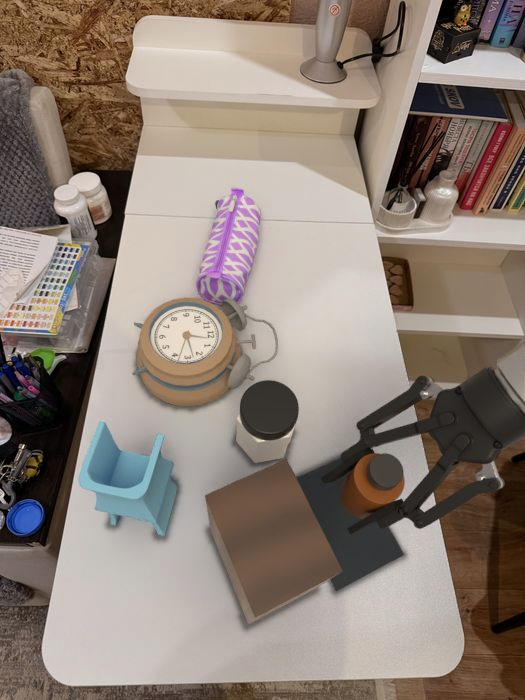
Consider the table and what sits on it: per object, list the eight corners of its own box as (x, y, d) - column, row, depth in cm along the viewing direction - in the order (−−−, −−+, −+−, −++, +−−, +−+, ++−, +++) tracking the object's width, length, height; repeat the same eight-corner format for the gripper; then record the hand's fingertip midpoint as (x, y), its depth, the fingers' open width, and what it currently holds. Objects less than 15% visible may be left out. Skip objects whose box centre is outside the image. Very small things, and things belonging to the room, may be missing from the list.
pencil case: (216, 217, 103) (215, 180, 94) (262, 223, 102) (264, 187, 94) (195, 307, 92) (192, 274, 83) (246, 314, 91) (248, 282, 83)
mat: (403, 555, 72) (404, 554, 72) (336, 591, 70) (336, 591, 69) (347, 455, 79) (347, 454, 79) (284, 484, 76) (284, 483, 76)
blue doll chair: (179, 481, 76) (165, 433, 59) (164, 536, 72) (144, 502, 55) (128, 470, 76) (98, 420, 59) (110, 524, 72) (73, 487, 55)
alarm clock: (130, 289, 81) (273, 282, 84) (139, 320, 89) (269, 314, 92) (126, 385, 73) (286, 375, 75) (136, 410, 81) (280, 401, 83)
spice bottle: (394, 507, 62) (423, 483, 53) (354, 527, 61) (378, 505, 52) (370, 466, 65) (394, 436, 55) (332, 484, 63) (350, 456, 54)
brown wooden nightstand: (315, 588, 70) (343, 570, 52) (248, 624, 67) (255, 617, 50) (273, 501, 75) (286, 458, 58) (210, 530, 73) (204, 495, 55)
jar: (280, 472, 77) (288, 445, 67) (229, 454, 78) (230, 425, 68) (297, 420, 82) (307, 387, 71) (249, 404, 83) (252, 369, 72)
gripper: (586, 476, 49) (395, 574, 59) (470, 325, 57) (319, 434, 67) (578, 484, 43) (367, 591, 53) (449, 314, 51) (287, 436, 61)
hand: (340, 503), depth 60 cm, fingers closed on spice bottle, 6 cm apart
